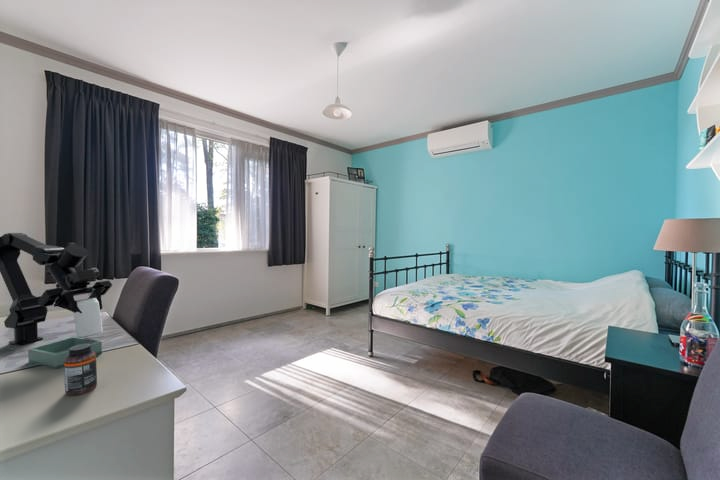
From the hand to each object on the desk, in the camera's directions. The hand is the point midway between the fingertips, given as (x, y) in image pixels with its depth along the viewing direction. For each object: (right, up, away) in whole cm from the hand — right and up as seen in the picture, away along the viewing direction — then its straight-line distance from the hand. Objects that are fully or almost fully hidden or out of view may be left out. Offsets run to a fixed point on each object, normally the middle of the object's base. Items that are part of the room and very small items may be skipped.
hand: (91, 311), depth 100 cm
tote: (-3, -13, -5) cm, 15 cm away
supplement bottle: (+19, -14, -24) cm, 34 cm away
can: (0, -8, 0) cm, 8 cm away
